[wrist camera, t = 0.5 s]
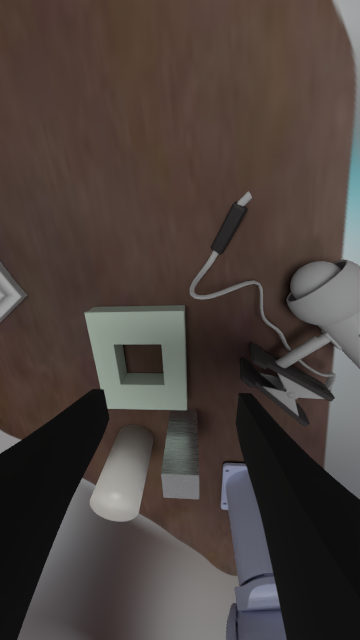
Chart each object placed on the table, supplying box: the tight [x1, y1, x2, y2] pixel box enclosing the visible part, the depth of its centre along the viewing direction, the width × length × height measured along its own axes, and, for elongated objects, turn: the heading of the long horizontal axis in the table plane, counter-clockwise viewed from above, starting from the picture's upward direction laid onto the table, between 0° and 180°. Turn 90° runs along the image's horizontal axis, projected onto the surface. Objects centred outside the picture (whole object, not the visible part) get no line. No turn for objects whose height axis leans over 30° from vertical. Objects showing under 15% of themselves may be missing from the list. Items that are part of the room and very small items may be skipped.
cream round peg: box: [90, 425, 154, 521], centre depth 21 cm, size 5×5×7 cm
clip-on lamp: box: [190, 192, 360, 426], centre depth 15 cm, size 12×6×18 cm
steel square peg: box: [161, 409, 199, 499], centre depth 19 cm, size 3×3×7 cm
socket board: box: [85, 305, 187, 410], centre depth 19 cm, size 11×9×2 cm
